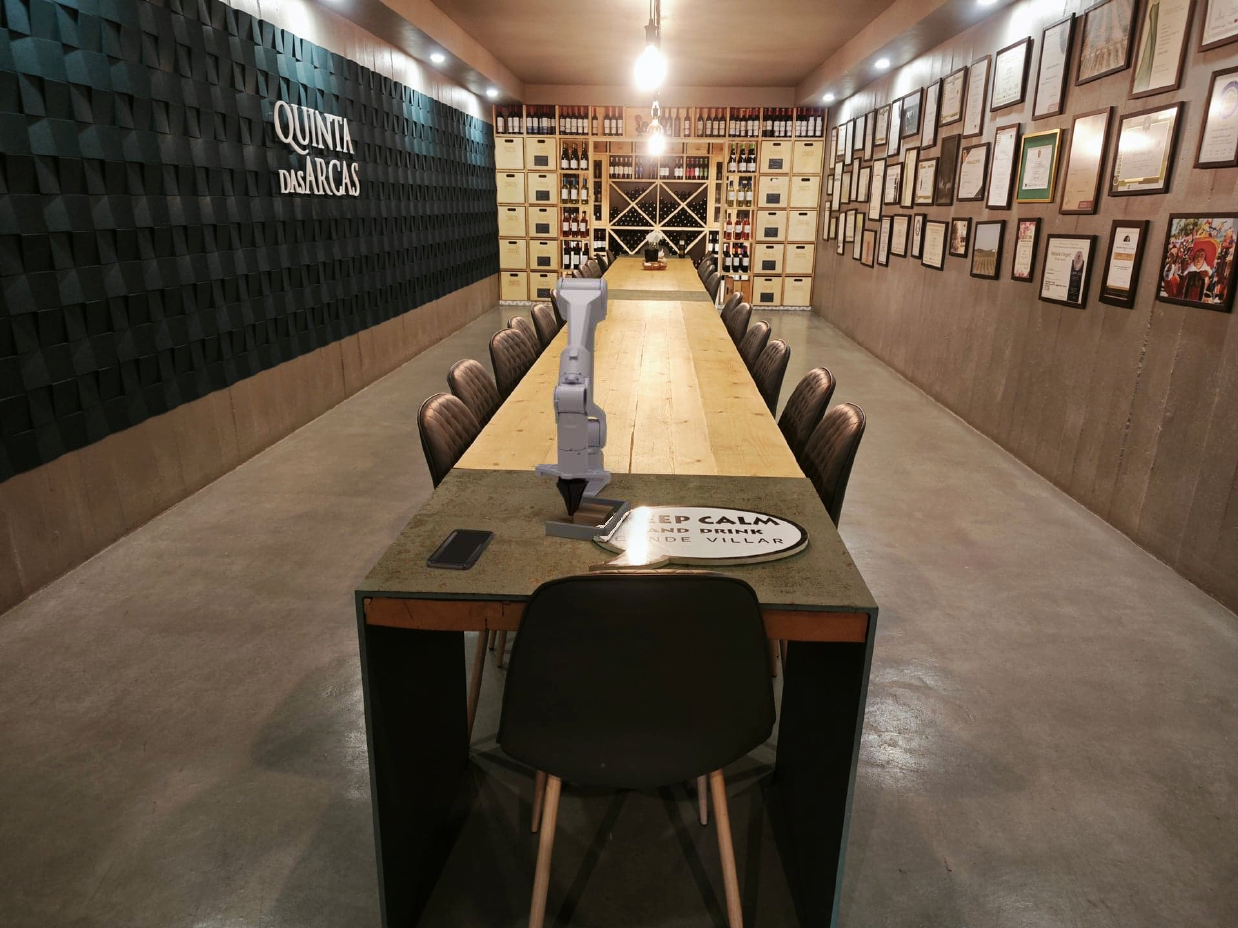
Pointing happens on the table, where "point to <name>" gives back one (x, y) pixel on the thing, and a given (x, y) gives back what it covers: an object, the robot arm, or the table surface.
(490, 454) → the table surface
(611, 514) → the walnut tile
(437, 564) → the phone
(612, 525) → the grey u-shaped rail
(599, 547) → the table surface
